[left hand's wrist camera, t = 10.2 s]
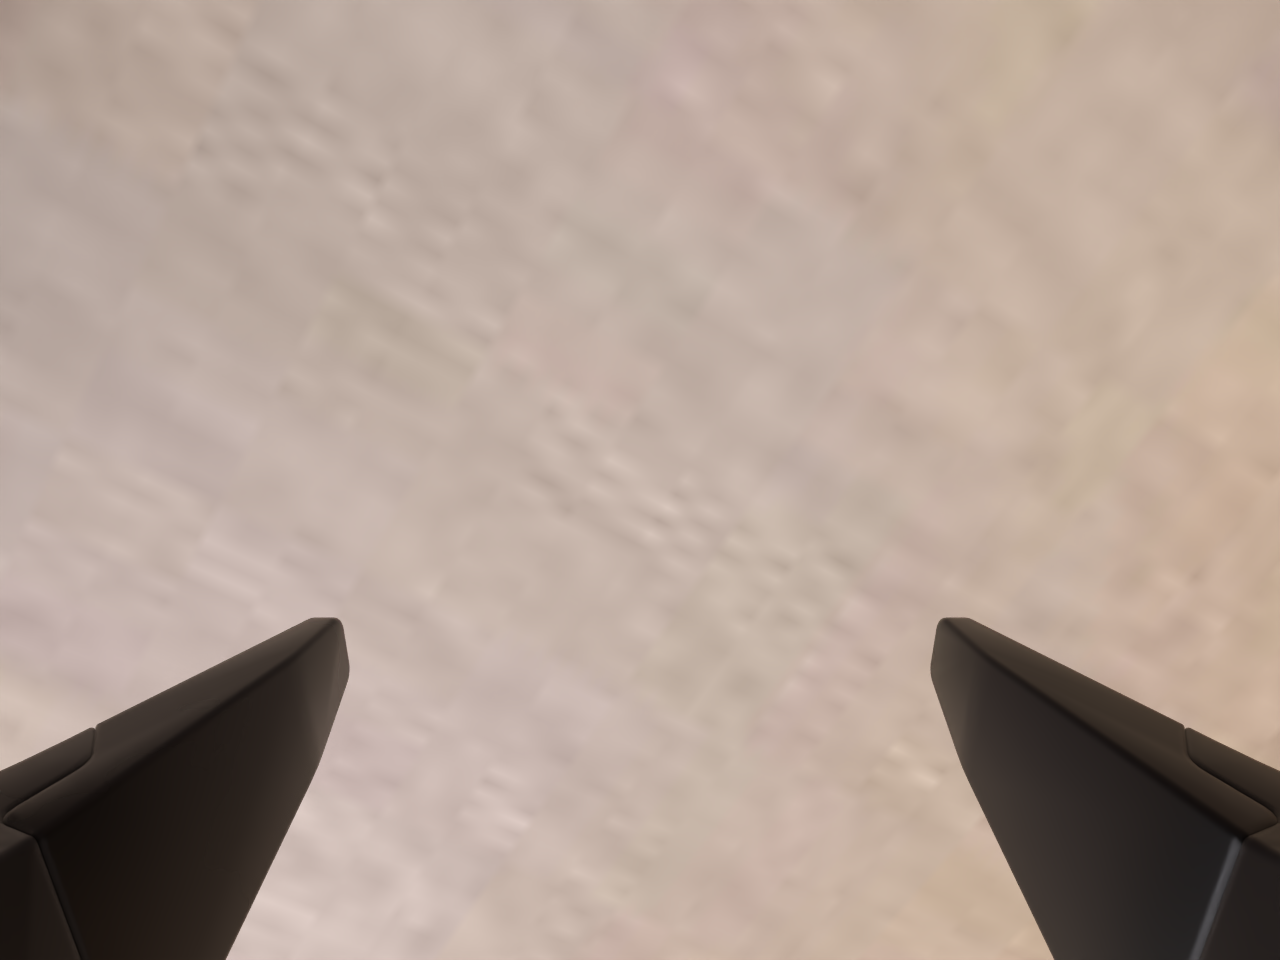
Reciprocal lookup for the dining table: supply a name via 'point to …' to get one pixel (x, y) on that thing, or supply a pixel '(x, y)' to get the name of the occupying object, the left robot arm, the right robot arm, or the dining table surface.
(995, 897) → the dining table surface
